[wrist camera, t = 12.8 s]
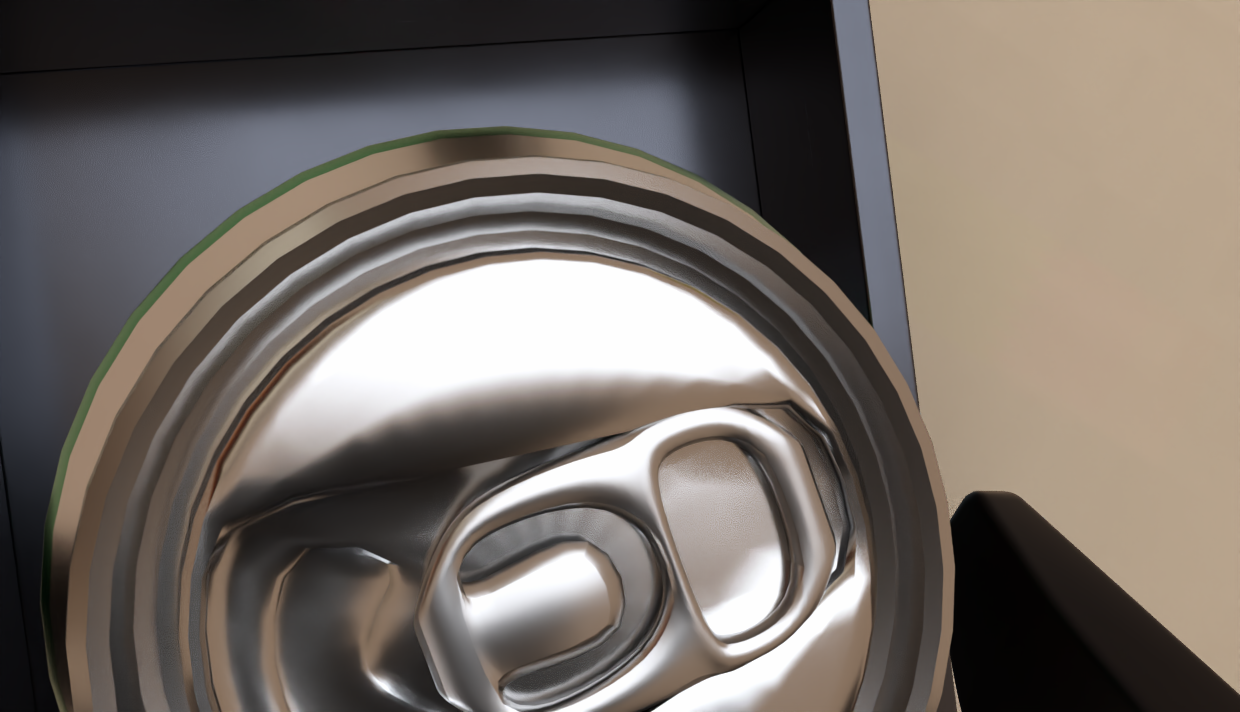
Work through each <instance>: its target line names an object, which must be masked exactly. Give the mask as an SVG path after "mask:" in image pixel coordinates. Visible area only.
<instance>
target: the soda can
mask: <svg viewBox="0 0 1240 712" xmlns="http://www.w3.org/2000/svg"><path fill="white" fill-rule="evenodd" d="M954 579H955V563H954V554H953V545H952V536H951V527H950V518H949V509H948V502H947V498H946V494H945V490H944V486H943V482H942V479H941V475H940V471H939V467H938V463H937V459H936V455H935V452H934V448H933V444H932V441H931V438H930V436H929V434H928V431H927V429H926V427H925V424H924V422H923V419H922V417H921V415H920V412H919V410H918V408H917V405H916V403H915V401H914V398H913V396H912V393H911V391H910V389H909V386H908V384H907V382H906V381H905V379H904V377H903V376H902V374H901V372H900V371H899V369H898V368H897V366H896V364H895V363H894V361H893V359H892V358H891V356H890V354H889V353H888V351H887V350H886V348H885V346H884V345H883V343H882V341H881V340H880V338H879V336H878V335H877V333H876V332H875V330H874V329H873V328H872V326H871V325H870V324H869V323H868V322H867V320H866V319H865V318H864V317H863V316H862V314H861V313H860V312H859V311H858V310H857V309H856V307H855V306H854V305H853V304H852V303H851V301H850V300H849V299H848V298H847V297H846V296H845V294H844V293H843V292H842V291H841V290H840V288H839V287H838V286H837V285H836V284H835V282H834V281H833V280H831V279H830V278H829V277H828V276H827V275H826V274H825V273H823V272H822V271H821V270H820V269H819V268H818V267H816V266H815V265H814V264H813V263H812V262H811V261H810V260H808V259H807V258H806V257H805V256H804V255H803V254H802V253H801V252H800V251H799V250H798V249H797V248H796V247H795V246H794V245H793V244H791V243H790V242H789V241H788V240H787V239H786V238H784V237H783V236H782V235H781V234H780V233H779V232H778V231H776V230H775V229H774V228H773V227H772V226H771V225H770V224H768V223H767V222H766V221H765V220H764V219H763V218H762V217H760V216H759V215H758V214H757V213H756V212H755V211H754V210H752V209H751V208H750V207H748V206H746V205H745V204H743V203H742V202H740V201H738V200H737V199H735V198H734V197H732V196H731V195H729V194H727V193H726V192H724V191H723V190H721V189H719V188H718V187H716V186H715V185H713V184H711V183H710V182H708V181H707V180H705V179H704V178H702V177H700V176H699V175H697V174H695V173H693V172H690V171H688V170H686V169H683V168H681V167H679V166H676V165H674V164H672V163H669V162H667V161H665V160H662V159H660V158H658V157H655V156H653V155H651V154H649V153H646V152H644V151H642V150H639V149H637V148H633V147H629V146H625V145H621V144H617V143H613V142H609V141H605V140H601V139H598V138H594V137H590V136H586V135H582V134H578V133H574V132H565V131H554V130H544V129H533V128H523V127H512V126H497V127H481V128H465V129H450V130H436V131H431V132H427V133H423V134H418V135H414V136H409V137H405V138H400V139H396V140H391V141H387V142H382V143H378V144H373V145H369V146H366V147H363V148H361V149H358V150H356V151H353V152H351V153H348V154H346V155H343V156H341V157H338V158H336V159H333V160H331V161H328V162H326V163H323V164H321V165H318V166H316V167H313V168H311V169H308V170H306V171H303V172H301V173H299V174H297V175H296V176H294V177H292V178H290V179H289V180H287V181H285V182H284V183H282V184H280V185H279V186H277V187H275V188H274V189H272V190H270V191H269V192H267V193H265V194H264V195H262V196H260V197H258V198H257V199H255V200H253V201H252V202H250V203H248V204H247V205H245V206H243V207H242V208H240V209H238V210H237V211H236V212H234V213H233V214H232V215H231V216H230V217H228V218H227V219H226V220H225V221H224V222H222V223H221V224H220V225H219V226H218V227H216V228H215V229H214V230H213V231H212V232H210V233H209V234H208V235H207V236H206V237H205V238H203V239H202V240H201V241H200V242H199V243H197V244H196V245H195V246H194V247H193V248H191V249H190V250H189V251H188V252H187V253H185V254H184V255H183V256H182V257H181V258H180V259H179V260H178V261H177V262H176V263H175V264H174V265H173V267H172V268H171V269H170V270H169V271H168V272H167V273H166V275H165V276H164V277H163V278H162V279H161V280H160V282H159V283H158V284H157V285H156V286H155V287H154V288H153V290H152V291H151V292H150V293H149V294H148V295H147V296H146V298H145V299H144V300H143V301H142V302H141V303H140V305H139V306H138V307H137V308H136V309H135V310H134V311H133V313H132V314H131V315H130V316H129V318H128V320H127V321H126V323H125V325H124V326H123V328H122V329H121V331H120V333H119V334H118V336H117V338H116V339H115V341H114V342H113V344H112V346H111V347H110V349H109V350H108V352H107V354H106V355H105V357H104V359H103V360H102V362H101V363H100V365H99V367H98V368H97V370H96V372H95V373H94V375H93V376H92V378H91V380H90V382H89V384H88V387H87V389H86V392H85V394H84V396H83V399H82V401H81V404H80V406H79V409H78V411H77V414H76V416H75V418H74V421H73V423H72V426H71V428H70V431H69V433H68V435H67V438H66V440H65V443H64V445H63V448H62V450H61V454H60V458H59V463H58V467H57V472H56V476H55V480H54V485H53V489H52V494H51V498H50V503H49V507H48V511H47V516H46V520H45V525H44V541H43V559H42V578H41V597H40V604H41V612H42V621H43V629H44V637H45V645H46V654H47V662H48V670H49V678H50V681H51V684H52V688H53V691H54V694H55V698H56V701H57V704H58V707H59V711H60V712H936V711H937V708H938V705H939V702H940V699H941V696H942V691H943V685H944V679H945V673H946V667H947V662H948V656H949V650H950V644H951V639H952V633H953V610H954Z"/></svg>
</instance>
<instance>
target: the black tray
mask: <svg viewBox="0 0 1240 712" xmlns="http://www.w3.org/2000/svg"><path fill="white" fill-rule="evenodd" d="M497 126H512V127H523V128H533V129H544V130H554V131H565V132H574V133H578V134H582V135H586V136H590V137H594V138H598V139H601V140H605V141H609V142H613V143H617V144H621V145H625V146H629V147H633V148H637V149H639V150H642V151H644V152H646V153H649V154H651V155H653V156H655V157H658V158H660V159H662V160H665V161H667V162H669V163H672V164H674V165H676V166H679V167H681V168H683V169H686V170H688V171H690V172H693V173H695V174H697V175H699V176H700V177H702V178H704V179H705V180H707V181H708V182H710V183H711V184H713V185H715V186H716V187H718V188H719V189H721V190H723V191H724V192H726V193H727V194H729V195H731V196H732V197H734V198H735V199H737V200H738V201H740V202H742V203H743V204H745V205H746V206H748V207H750V208H751V209H752V210H754V211H755V212H756V213H757V214H758V215H759V216H760V217H762V218H763V219H764V220H765V221H766V222H767V223H768V224H770V225H771V226H772V227H773V228H774V229H775V230H776V231H778V232H779V233H780V234H781V235H782V236H783V237H784V238H786V239H787V240H788V241H789V242H790V243H791V244H793V245H794V246H795V247H796V248H797V249H798V250H799V251H800V252H801V253H802V254H803V255H804V256H805V257H806V258H807V259H808V260H810V261H811V262H812V263H813V264H814V265H815V266H816V267H818V268H819V269H820V270H821V271H822V272H823V273H825V274H826V275H827V276H828V277H829V278H830V279H831V280H833V281H834V282H835V284H836V285H837V286H838V287H839V288H840V290H841V291H842V292H843V293H844V294H845V296H846V297H847V298H848V299H849V300H850V301H851V303H852V304H853V305H854V306H855V307H856V309H857V310H858V311H859V312H860V313H861V314H862V316H863V317H864V318H865V319H866V320H867V322H868V323H869V324H870V325H871V326H872V328H873V329H874V330H875V332H876V333H877V335H878V336H879V338H880V340H881V341H882V343H883V345H884V346H885V348H886V350H887V351H888V353H889V354H890V356H891V358H892V359H893V361H894V363H895V364H896V366H897V368H898V369H899V371H900V372H901V374H902V376H903V377H904V379H905V381H906V382H907V384H908V386H909V389H910V391H911V393H912V396H913V398H914V401H915V403H916V405H917V408H918V410H919V412H920V409H919V401H918V393H917V385H916V377H915V369H914V360H913V352H912V344H911V336H910V328H909V320H908V312H907V304H906V296H905V288H904V280H903V272H902V264H901V256H900V247H899V239H898V231H897V223H896V215H895V207H894V199H893V191H892V183H891V175H890V167H889V159H888V151H887V143H886V134H885V126H884V118H883V110H882V102H881V94H880V86H879V78H878V70H877V62H876V54H875V46H874V38H873V30H872V21H871V13H870V5H869V0H0V712H60V711H59V707H58V704H57V701H56V698H55V694H54V691H53V688H52V684H51V681H50V678H49V670H48V662H47V654H46V645H45V637H44V629H43V621H42V612H41V604H40V597H41V578H42V559H43V541H44V525H45V520H46V516H47V511H48V507H49V503H50V498H51V494H52V489H53V485H54V480H55V476H56V472H57V467H58V463H59V458H60V454H61V450H62V448H63V445H64V443H65V440H66V438H67V435H68V433H69V431H70V428H71V426H72V423H73V421H74V418H75V416H76V414H77V411H78V409H79V406H80V404H81V401H82V399H83V396H84V394H85V392H86V389H87V387H88V384H89V382H90V380H91V378H92V376H93V375H94V373H95V372H96V370H97V368H98V367H99V365H100V363H101V362H102V360H103V359H104V357H105V355H106V354H107V352H108V350H109V349H110V347H111V346H112V344H113V342H114V341H115V339H116V338H117V336H118V334H119V333H120V331H121V329H122V328H123V326H124V325H125V323H126V321H127V320H128V318H129V316H130V315H131V314H132V313H133V311H134V310H135V309H136V308H137V307H138V306H139V305H140V303H141V302H142V301H143V300H144V299H145V298H146V296H147V295H148V294H149V293H150V292H151V291H152V290H153V288H154V287H155V286H156V285H157V284H158V283H159V282H160V280H161V279H162V278H163V277H164V276H165V275H166V273H167V272H168V271H169V270H170V269H171V268H172V267H173V265H174V264H175V263H176V262H177V261H178V260H179V259H180V258H181V257H182V256H183V255H184V254H185V253H187V252H188V251H189V250H190V249H191V248H193V247H194V246H195V245H196V244H197V243H199V242H200V241H201V240H202V239H203V238H205V237H206V236H207V235H208V234H209V233H210V232H212V231H213V230H214V229H215V228H216V227H218V226H219V225H220V224H221V223H222V222H224V221H225V220H226V219H227V218H228V217H230V216H231V215H232V214H233V213H234V212H236V211H237V210H238V209H240V208H242V207H243V206H245V205H247V204H248V203H250V202H252V201H253V200H255V199H257V198H258V197H260V196H262V195H264V194H265V193H267V192H269V191H270V190H272V189H274V188H275V187H277V186H279V185H280V184H282V183H284V182H285V181H287V180H289V179H290V178H292V177H294V176H296V175H297V174H299V173H301V172H303V171H306V170H308V169H311V168H313V167H316V166H318V165H321V164H323V163H326V162H328V161H331V160H333V159H336V158H338V157H341V156H343V155H346V154H348V153H351V152H353V151H356V150H358V149H361V148H363V147H366V146H369V145H373V144H378V143H382V142H387V141H391V140H396V139H400V138H405V137H409V136H414V135H418V134H423V133H427V132H431V131H436V130H450V129H465V128H481V127H497ZM936 712H957V708H956V700H955V691H954V683H953V675H952V667H951V659H950V653H949V656H948V662H947V667H946V673H945V679H944V685H943V691H942V696H941V699H940V702H939V705H938V708H937V711H936Z"/></svg>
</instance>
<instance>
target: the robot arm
mask: <svg viewBox="0 0 1240 712" xmlns="http://www.w3.org/2000/svg"><path fill="white" fill-rule="evenodd" d="M950 527H951V536H952V545H953V554H954V563H955V579H954V610H953V633H952V639H951V644H950V650H949V653H950V658H951V663H952V668H953V673H954V678H955V684H956V689H957V694H958V698H959V703H960V707H961V711H962V712H1240V695H1239V694H1238V693H1237V692H1236V691H1235V690H1234V689H1233V688H1232V687H1231V686H1230V685H1228V684H1227V683H1226V682H1225V681H1224V680H1223V679H1222V678H1221V677H1220V676H1218V675H1217V674H1216V673H1215V672H1214V671H1213V670H1212V669H1211V668H1210V667H1208V666H1207V665H1206V664H1205V663H1204V662H1203V661H1202V660H1201V659H1200V658H1198V657H1197V656H1196V655H1195V654H1194V653H1193V652H1192V651H1191V650H1190V649H1188V648H1187V647H1186V646H1185V645H1184V644H1183V643H1182V642H1181V641H1180V640H1178V639H1177V638H1176V637H1175V636H1174V635H1173V634H1172V633H1171V632H1170V631H1168V630H1167V629H1166V628H1165V627H1164V626H1163V625H1162V624H1161V623H1160V622H1158V621H1157V620H1156V619H1155V618H1154V617H1153V616H1152V615H1151V614H1150V613H1149V612H1147V611H1146V610H1145V609H1144V608H1143V607H1142V606H1141V605H1140V604H1139V603H1137V602H1136V601H1135V600H1134V599H1133V598H1132V597H1131V596H1130V595H1129V594H1127V593H1126V592H1125V591H1124V590H1123V589H1122V588H1121V587H1120V586H1119V585H1117V584H1116V583H1115V582H1114V581H1113V580H1112V579H1111V578H1110V577H1109V576H1107V575H1106V574H1105V573H1104V572H1103V571H1102V570H1101V569H1100V568H1099V567H1097V566H1096V565H1095V564H1094V563H1093V562H1092V561H1091V560H1090V559H1089V558H1087V557H1086V556H1085V555H1084V554H1083V553H1082V552H1081V551H1080V550H1079V549H1077V548H1076V547H1075V546H1074V545H1073V544H1072V543H1071V542H1070V541H1069V540H1067V539H1066V538H1065V537H1064V536H1063V535H1062V534H1061V533H1060V532H1059V531H1058V530H1056V529H1055V528H1054V527H1053V526H1052V525H1051V524H1050V523H1049V522H1048V521H1046V520H1045V519H1044V518H1043V517H1042V516H1041V515H1040V514H1039V513H1038V512H1036V511H1035V510H1034V509H1033V508H1032V507H1031V506H1030V505H1029V504H1028V503H1026V502H1025V501H1024V500H1023V499H1022V498H1020V497H1019V496H1017V495H1016V494H1014V493H1011V492H1005V491H975V492H972V493H970V494H968V495H967V496H966V497H965V498H964V499H963V501H962V502H961V504H960V505H959V507H958V508H957V510H956V512H955V513H954V515H953V516H952V518H951V519H950Z"/></svg>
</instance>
